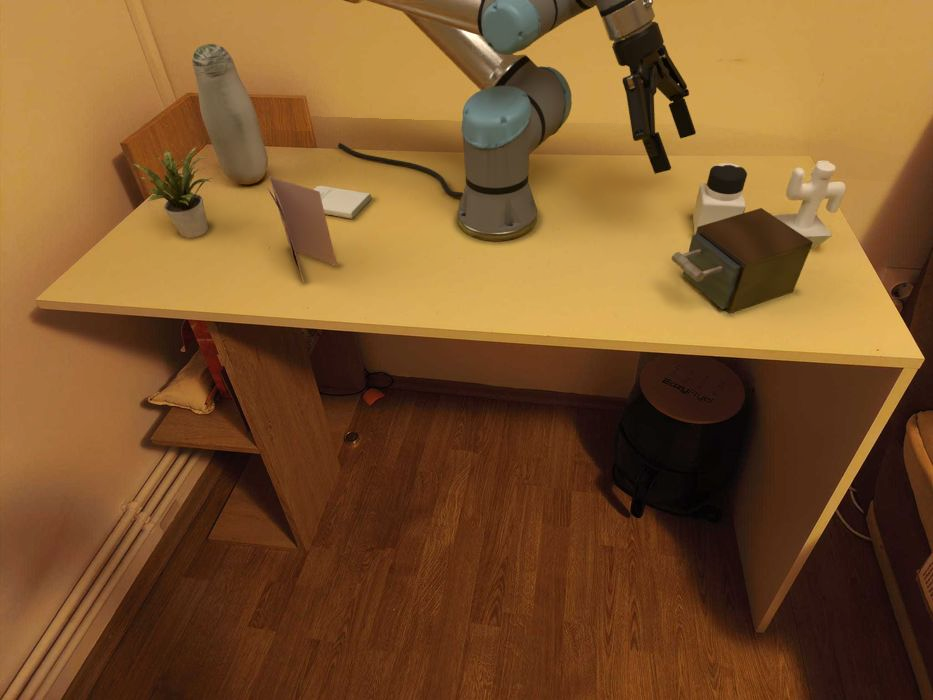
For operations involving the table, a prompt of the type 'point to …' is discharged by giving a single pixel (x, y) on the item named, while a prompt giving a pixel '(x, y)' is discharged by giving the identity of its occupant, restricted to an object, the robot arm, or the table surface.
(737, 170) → the medicine bottle
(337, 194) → the hard drive
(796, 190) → the figurine
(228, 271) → the table surface
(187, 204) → the house plant
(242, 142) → the grey bottle
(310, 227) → the greeting card
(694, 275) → the grey pull-out drawer
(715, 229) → the cabinet
